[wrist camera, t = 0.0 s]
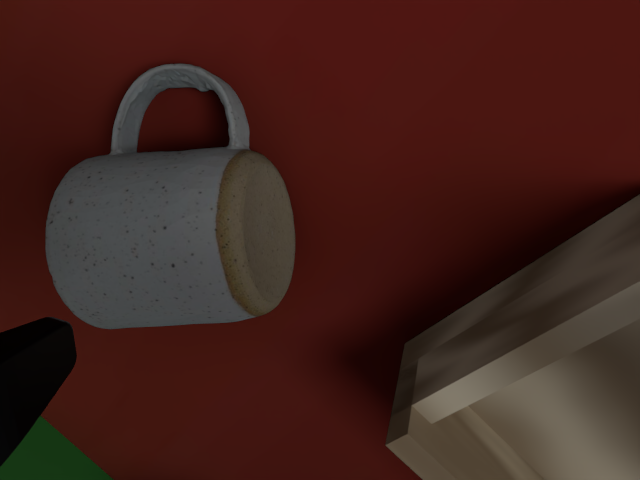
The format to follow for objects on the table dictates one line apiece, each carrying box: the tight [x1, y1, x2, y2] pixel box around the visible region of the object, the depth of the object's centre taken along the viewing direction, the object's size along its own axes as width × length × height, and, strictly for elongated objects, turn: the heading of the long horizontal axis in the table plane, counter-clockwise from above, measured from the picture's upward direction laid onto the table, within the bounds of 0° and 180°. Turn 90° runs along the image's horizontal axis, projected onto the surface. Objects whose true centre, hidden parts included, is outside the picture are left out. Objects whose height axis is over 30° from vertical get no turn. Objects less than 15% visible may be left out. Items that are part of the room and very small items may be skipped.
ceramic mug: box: [46, 64, 295, 329], centre depth 21 cm, size 11×8×8 cm
